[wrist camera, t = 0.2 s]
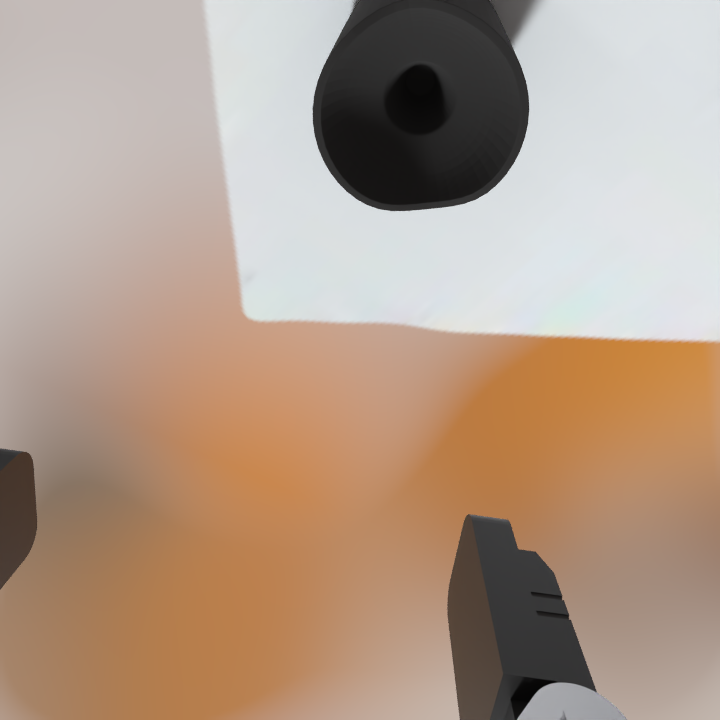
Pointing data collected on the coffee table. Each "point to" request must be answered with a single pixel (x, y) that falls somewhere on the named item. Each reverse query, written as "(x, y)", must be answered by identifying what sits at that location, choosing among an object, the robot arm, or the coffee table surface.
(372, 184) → the pen holder
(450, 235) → the coffee table surface
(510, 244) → the coffee table surface
